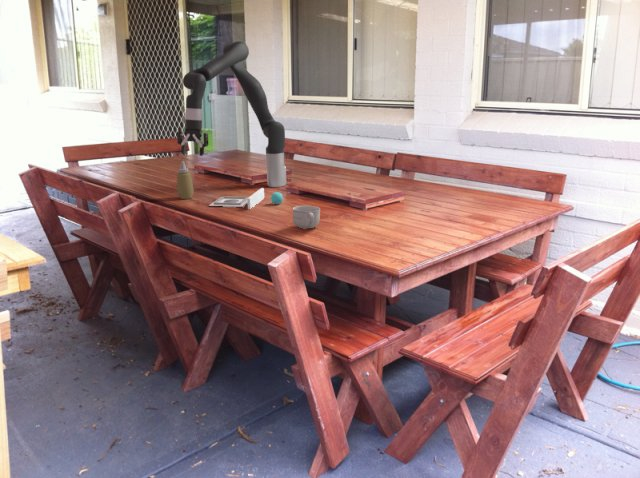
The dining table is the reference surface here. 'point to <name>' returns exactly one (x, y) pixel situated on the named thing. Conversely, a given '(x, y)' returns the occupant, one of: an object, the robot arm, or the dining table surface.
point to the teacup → (306, 216)
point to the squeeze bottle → (184, 183)
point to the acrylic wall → (255, 198)
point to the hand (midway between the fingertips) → (192, 154)
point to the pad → (230, 201)
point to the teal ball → (276, 198)
